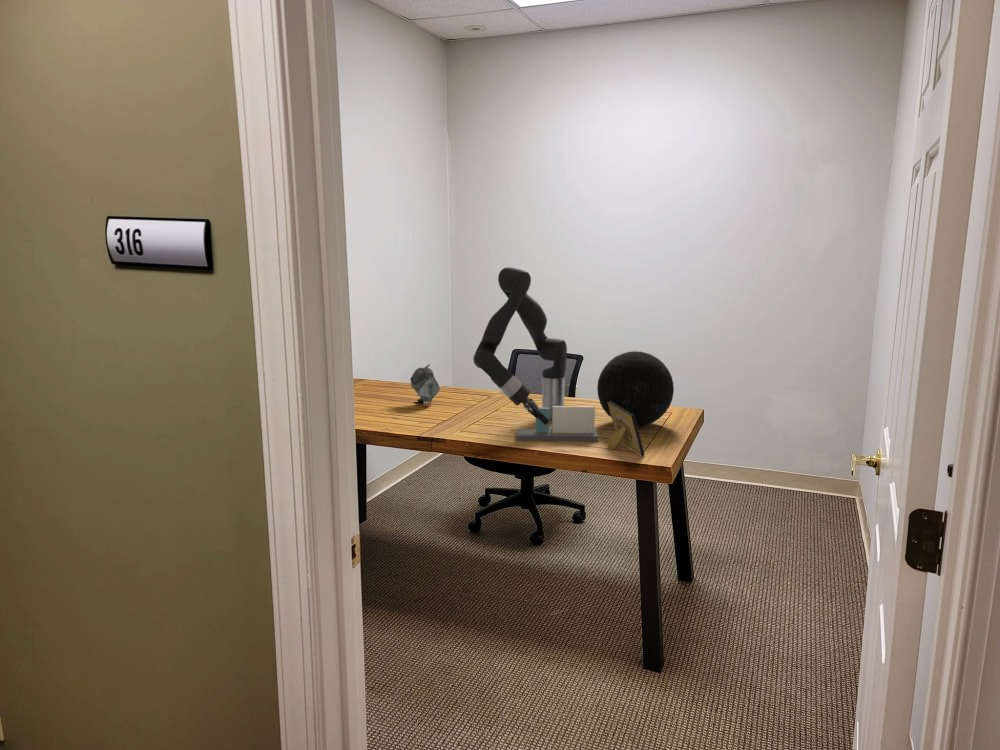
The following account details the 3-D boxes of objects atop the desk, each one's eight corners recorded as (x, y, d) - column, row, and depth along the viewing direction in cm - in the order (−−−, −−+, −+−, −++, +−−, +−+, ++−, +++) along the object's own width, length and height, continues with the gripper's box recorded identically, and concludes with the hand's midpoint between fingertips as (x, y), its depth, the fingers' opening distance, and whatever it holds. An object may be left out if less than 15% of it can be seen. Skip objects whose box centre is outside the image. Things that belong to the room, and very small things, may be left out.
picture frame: (645, 456, 240) (642, 413, 237) (620, 460, 239) (616, 418, 236) (620, 438, 262) (617, 399, 260) (597, 442, 261) (594, 403, 258)
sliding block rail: (516, 433, 269) (517, 403, 267) (595, 434, 268) (596, 403, 266) (516, 440, 259) (516, 409, 257) (598, 441, 259) (599, 409, 256)
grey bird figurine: (405, 408, 312) (404, 368, 309) (414, 401, 327) (413, 363, 324) (436, 409, 310) (435, 369, 307) (444, 402, 325) (443, 363, 322)
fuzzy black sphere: (682, 422, 287) (686, 350, 282) (655, 439, 262) (659, 359, 257) (614, 413, 303) (616, 344, 298) (583, 428, 278) (585, 353, 273)
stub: (535, 431, 264) (535, 407, 263) (548, 431, 264) (549, 407, 263) (535, 431, 263) (535, 408, 262) (549, 432, 263) (549, 408, 261)
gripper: (522, 386, 254) (555, 419, 256) (522, 379, 267) (553, 411, 269) (507, 400, 255) (540, 433, 257) (508, 393, 268) (539, 424, 270)
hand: (547, 422), depth 263 cm, fingers closed
